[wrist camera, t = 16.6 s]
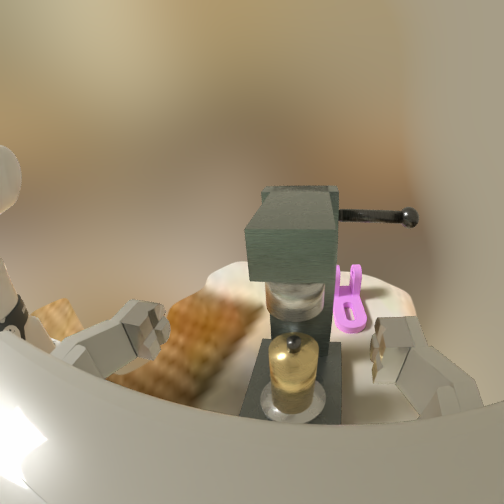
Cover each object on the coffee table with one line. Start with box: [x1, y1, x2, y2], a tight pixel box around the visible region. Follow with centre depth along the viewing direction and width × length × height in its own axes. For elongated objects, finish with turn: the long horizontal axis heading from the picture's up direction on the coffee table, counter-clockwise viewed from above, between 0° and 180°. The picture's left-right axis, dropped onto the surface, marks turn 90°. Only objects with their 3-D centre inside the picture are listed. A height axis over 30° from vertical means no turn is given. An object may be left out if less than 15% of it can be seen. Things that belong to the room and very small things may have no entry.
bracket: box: [333, 264, 367, 333], centre depth 47 cm, size 13×6×7 cm, turn 173°
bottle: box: [268, 332, 319, 414], centre depth 27 cm, size 5×5×10 cm
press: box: [239, 186, 419, 425], centre depth 26 cm, size 18×20×25 cm
